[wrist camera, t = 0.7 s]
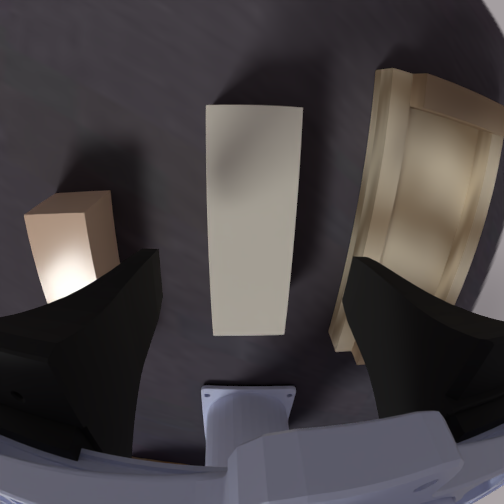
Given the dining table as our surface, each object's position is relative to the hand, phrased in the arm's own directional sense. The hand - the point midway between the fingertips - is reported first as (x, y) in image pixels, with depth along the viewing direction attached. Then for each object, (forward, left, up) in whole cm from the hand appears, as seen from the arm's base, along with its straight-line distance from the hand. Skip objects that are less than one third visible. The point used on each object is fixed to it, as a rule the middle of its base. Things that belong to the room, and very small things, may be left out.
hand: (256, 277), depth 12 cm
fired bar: (-5, +10, -8) cm, 14 cm away
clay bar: (0, 0, -8) cm, 8 cm away
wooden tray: (0, -11, -7) cm, 13 cm away
